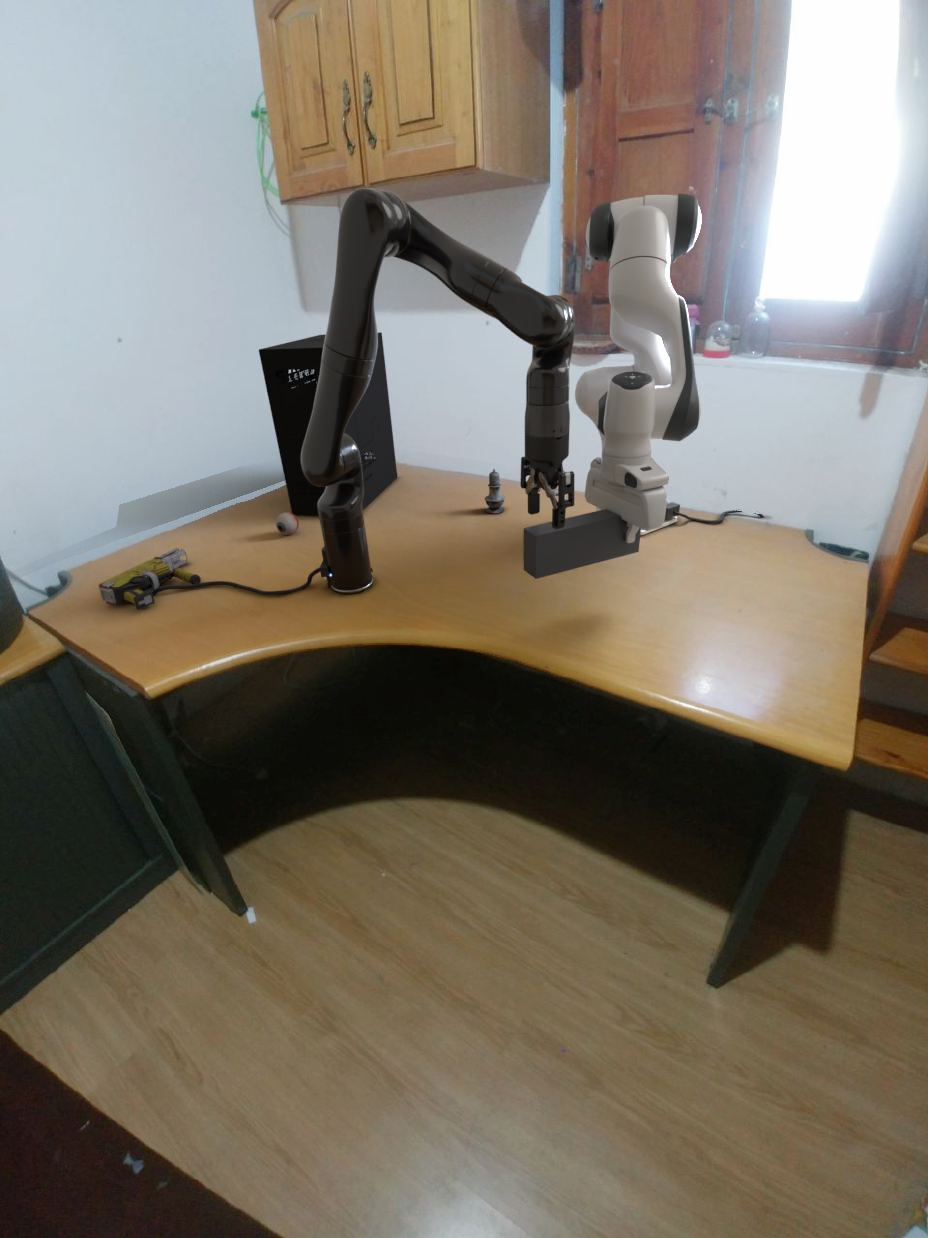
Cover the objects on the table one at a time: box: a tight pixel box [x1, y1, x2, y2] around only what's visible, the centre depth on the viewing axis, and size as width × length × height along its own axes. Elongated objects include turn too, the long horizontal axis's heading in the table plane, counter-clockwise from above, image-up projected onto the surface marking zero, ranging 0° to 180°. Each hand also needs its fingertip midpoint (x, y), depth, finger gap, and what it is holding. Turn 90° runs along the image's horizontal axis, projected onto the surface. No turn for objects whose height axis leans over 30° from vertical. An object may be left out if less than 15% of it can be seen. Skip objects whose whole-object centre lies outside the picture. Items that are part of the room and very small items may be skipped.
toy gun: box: [98, 547, 202, 611], centre depth 139 cm, size 5×24×15 cm
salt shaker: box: [484, 468, 506, 514], centre depth 170 cm, size 6×6×12 cm
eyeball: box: [275, 511, 300, 536], centre depth 163 cm, size 6×6×6 cm
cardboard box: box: [258, 332, 398, 517], centre depth 181 cm, size 38×20×45 cm, turn 167°
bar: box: [522, 509, 641, 580], centre depth 116 cm, size 24×5×9 cm, turn 115°
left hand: (545, 520), depth 110 cm, fingers open, 8 cm apart
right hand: (619, 536), depth 119 cm, fingers closed on bar, 4 cm apart
